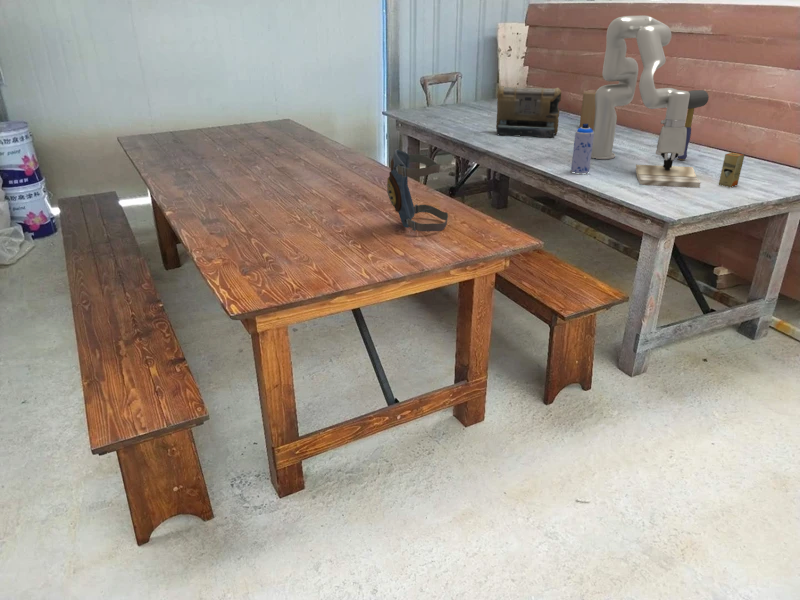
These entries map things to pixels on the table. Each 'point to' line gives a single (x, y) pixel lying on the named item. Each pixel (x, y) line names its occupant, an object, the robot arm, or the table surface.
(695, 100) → the rubber mallet
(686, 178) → the streaked tan wood board
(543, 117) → the brown boxy block
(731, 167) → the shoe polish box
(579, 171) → the aerosol can
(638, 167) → the pale ash plank
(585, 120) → the wooden block
